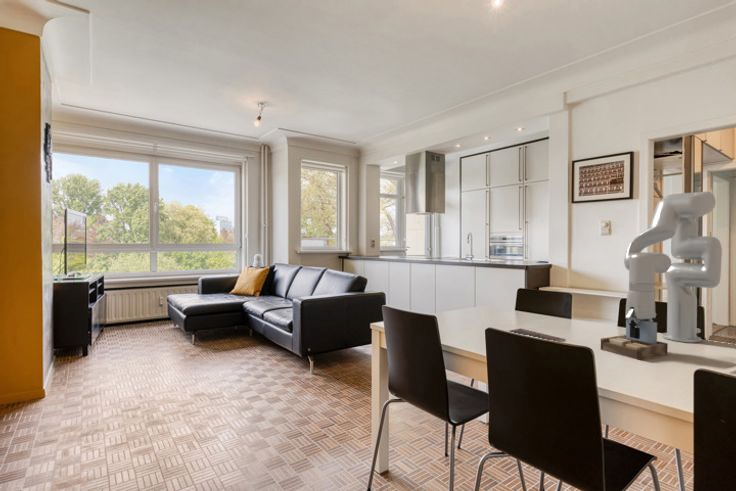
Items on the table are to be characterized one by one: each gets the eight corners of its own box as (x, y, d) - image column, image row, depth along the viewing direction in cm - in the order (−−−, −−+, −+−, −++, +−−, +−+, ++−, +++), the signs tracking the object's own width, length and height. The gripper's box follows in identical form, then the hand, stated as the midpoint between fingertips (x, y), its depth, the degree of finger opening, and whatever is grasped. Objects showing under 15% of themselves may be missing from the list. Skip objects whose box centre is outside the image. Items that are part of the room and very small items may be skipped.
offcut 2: (634, 352, 140) (634, 342, 140) (648, 356, 136) (648, 346, 136) (625, 354, 138) (625, 344, 138) (639, 357, 134) (639, 347, 134)
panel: (631, 347, 147) (631, 317, 147) (656, 353, 139) (657, 322, 139) (625, 347, 146) (626, 318, 146) (651, 354, 138) (651, 323, 137)
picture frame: (494, 338, 168) (538, 350, 149) (494, 332, 168) (538, 344, 149) (520, 333, 176) (565, 344, 157) (520, 327, 176) (565, 338, 157)
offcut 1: (618, 348, 145) (618, 337, 145) (630, 351, 141) (631, 340, 141) (609, 349, 143) (609, 339, 143) (621, 353, 139) (621, 342, 139)
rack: (627, 347, 150) (627, 334, 150) (667, 357, 137) (667, 343, 137) (600, 352, 144) (600, 338, 144) (639, 363, 131) (640, 348, 131)
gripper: (645, 285, 149) (645, 332, 149) (615, 287, 142) (615, 337, 142) (667, 287, 142) (667, 336, 142) (636, 290, 135) (636, 342, 135)
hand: (641, 336), depth 142 cm, fingers open, 6 cm apart
